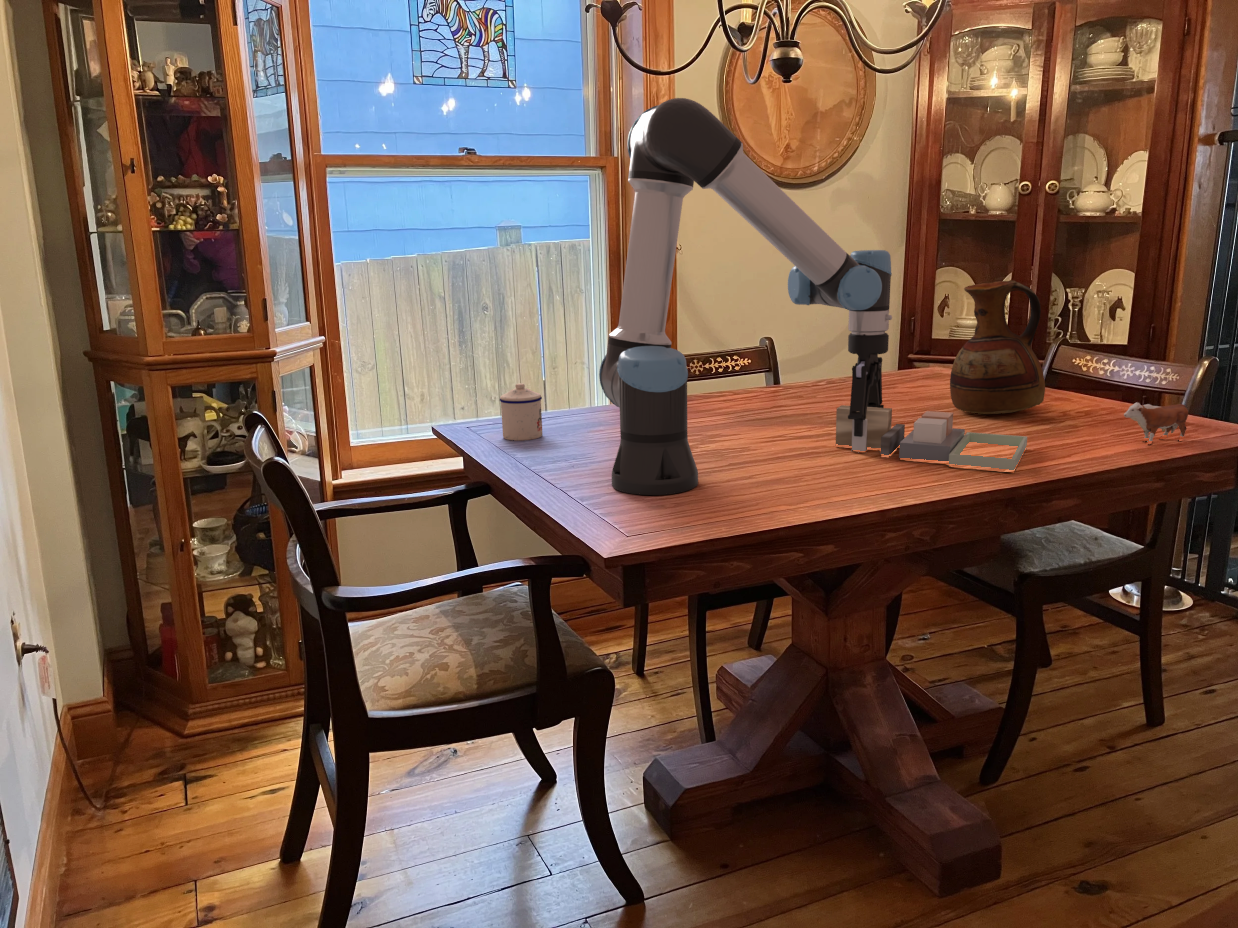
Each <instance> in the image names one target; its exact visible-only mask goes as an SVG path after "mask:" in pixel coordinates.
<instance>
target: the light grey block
mask: <svg viewBox="0 0 1238 928" xmlns="http://www.w3.org/2000/svg"><path fill="white" fill-rule="evenodd" d="M946 426H947V420H945V419H930V418H922V417H919V418H917V419H916V421H914V423H913V430H914V433H913V441H917V442H930V443H942V442H943V440H944V439H945V438H946Z"/></svg>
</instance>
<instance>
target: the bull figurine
mask: <svg viewBox="0 0 1238 928" xmlns="http://www.w3.org/2000/svg"><path fill="white" fill-rule="evenodd" d="M1123 416H1124V418H1127V419H1131V420H1133V421H1134V422H1137V424H1138V426H1139V427H1140V428H1141V430H1143V434H1144V438H1149V441H1153V439H1154V437H1155V436H1156V433H1157V431H1158V429H1161V432H1163V434H1162V435H1167V436H1169V435H1168V434H1169V433H1171V434H1174V432H1175V431H1176V430H1177V429H1179V430H1180V435H1179V437H1180V436H1182V437H1183V436H1184V437H1185V434H1186V432H1187V425H1186V422H1187V420H1188V417H1189V410H1188V409H1187V407H1186V405H1185V404H1183V403H1178V404H1173V405H1172V404H1171V405H1164V406H1158V405H1152V404H1150V403H1147V404H1142V405H1141V403H1140V402H1138V401H1137V402H1135V403H1133V404H1132V405H1130V406H1129V407H1128V410H1126V411H1125V412H1124V413H1123Z"/></svg>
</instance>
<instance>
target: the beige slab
mask: <svg viewBox="0 0 1238 928" xmlns="http://www.w3.org/2000/svg"><path fill="white" fill-rule="evenodd" d="M857 412H859V411H857ZM835 413H836V417H835V445H836V444H838V445H849V446H852V419H848V415H849V413H850V405H839V407H837V408H836V412H835ZM866 419H867V447H871V448H881V452H880V455H881V454H884V455H889V454H891V453H892V452H893V451H894V450H895V449H896V448H897V447H898V446H899V445H900V442H901V441H902V440H903V439H904V438H905V429H906V428H905V427H906V424H903V423H896V424H895V425H894V426H892V419H893V408H892V407H891V408H889V407H884V408H877V407H867V413H866Z"/></svg>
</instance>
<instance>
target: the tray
mask: <svg viewBox="0 0 1238 928" xmlns="http://www.w3.org/2000/svg"><path fill="white" fill-rule="evenodd" d="M969 442H977V443H988V444H998V445H1009V446H1018V448H1017V450H1016V452H1015V454H1014V455H1013V457H1012V459H1007V458H995V457H983V456H971V455H960V453H961V452H962V451H963V449H964V448H965V447H966V445H967V444H968V443H969ZM1027 445H1028V436H1025V435H1024V436H1023V435H1012V434H1008V435H1007V434H1000V433H999V434H998V433H986V432H985V433H984V432H971V431H969V432H968V431H967V432H966V433H965V434H964V437H963V438H962V439H961V440H960V442H959V443H958V444H957V445H956V447H955V448H954V449H953V450H952V452H951V453H950V454H949V464H955V465H956V464H957V465H971V466H981V467H991V468H999V469H1009V470H1014V469H1015V467H1016V465H1017V464H1018V462H1019V460H1020V458H1021V456H1022V454H1023V452H1024V450H1025V448H1026V446H1027ZM1026 449H1027V448H1026Z"/></svg>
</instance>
